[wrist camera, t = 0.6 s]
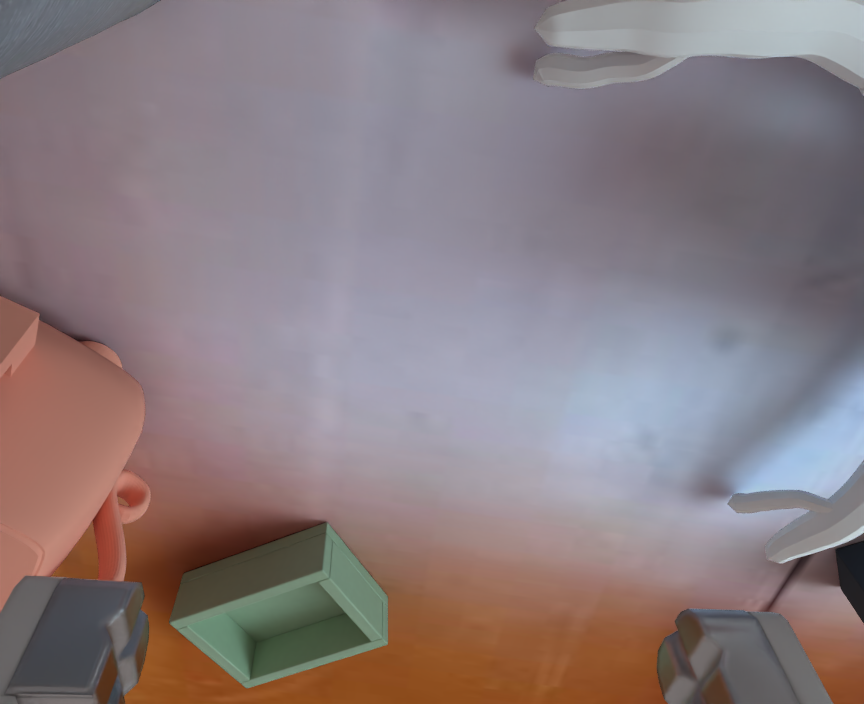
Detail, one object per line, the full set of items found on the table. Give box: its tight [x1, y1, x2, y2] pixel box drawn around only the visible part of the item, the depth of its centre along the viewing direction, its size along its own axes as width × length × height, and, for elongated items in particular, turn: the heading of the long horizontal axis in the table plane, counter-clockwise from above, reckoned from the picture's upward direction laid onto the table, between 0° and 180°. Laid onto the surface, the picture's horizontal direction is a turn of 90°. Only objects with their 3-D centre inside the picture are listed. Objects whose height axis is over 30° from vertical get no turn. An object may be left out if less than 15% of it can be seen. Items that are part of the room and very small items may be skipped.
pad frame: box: [169, 522, 388, 688], centre depth 31 cm, size 6×8×3 cm
